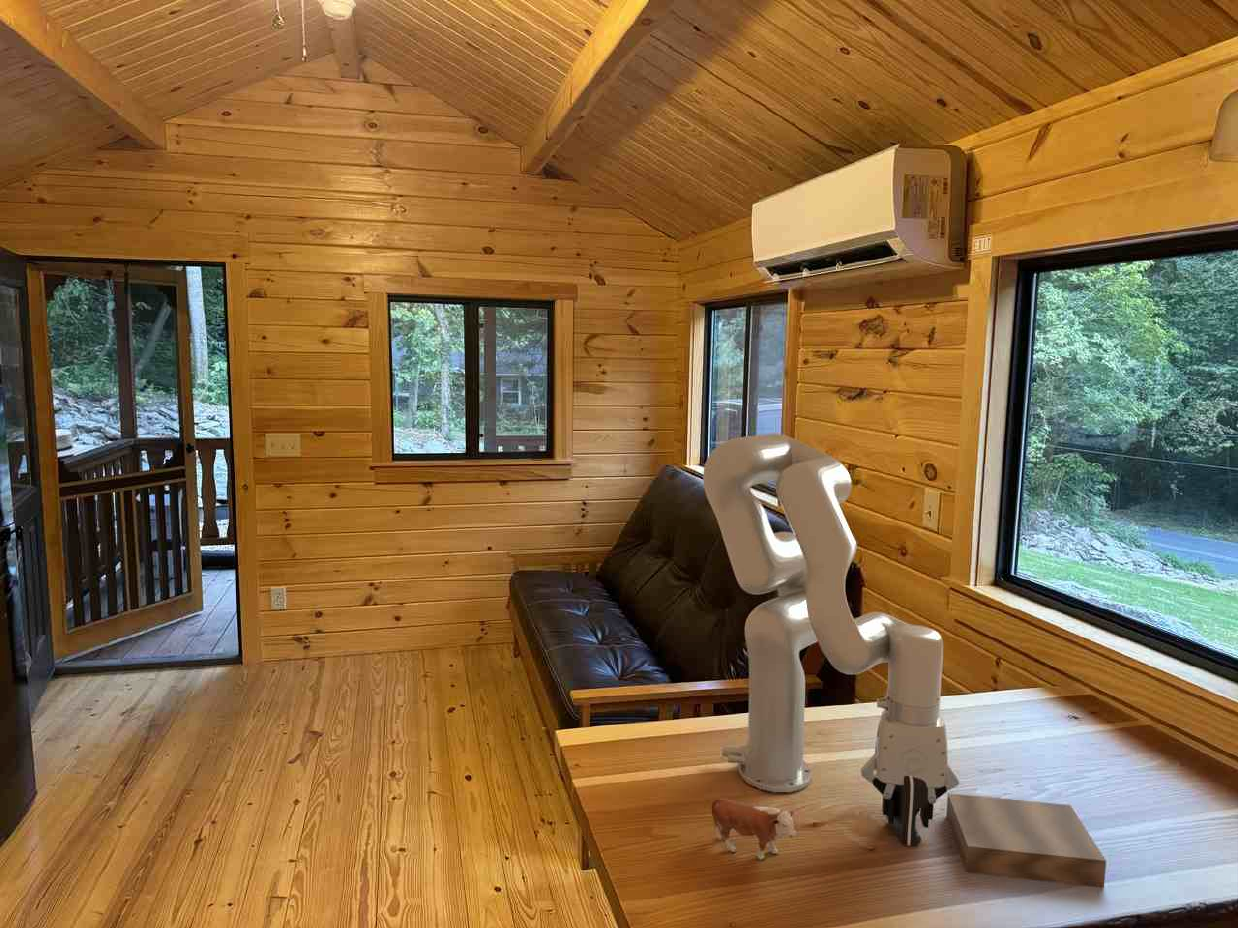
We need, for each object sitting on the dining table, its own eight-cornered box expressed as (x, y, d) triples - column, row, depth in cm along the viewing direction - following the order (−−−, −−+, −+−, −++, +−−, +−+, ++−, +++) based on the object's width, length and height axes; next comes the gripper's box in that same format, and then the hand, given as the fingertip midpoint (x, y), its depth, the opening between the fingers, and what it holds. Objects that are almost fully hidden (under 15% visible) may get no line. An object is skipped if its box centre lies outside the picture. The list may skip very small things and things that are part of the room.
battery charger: (928, 847, 121) (932, 776, 120) (903, 847, 121) (907, 776, 120) (910, 820, 128) (913, 752, 127) (886, 820, 128) (889, 753, 126)
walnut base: (966, 871, 116) (968, 845, 115) (946, 816, 129) (947, 793, 129) (1103, 887, 112) (1106, 860, 112) (1068, 828, 126) (1070, 804, 125)
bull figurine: (792, 875, 115) (793, 822, 114) (706, 845, 122) (707, 795, 121) (802, 859, 119) (804, 807, 117) (719, 830, 126) (719, 781, 125)
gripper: (857, 715, 120) (852, 828, 122) (978, 724, 117) (970, 841, 119) (852, 693, 127) (848, 801, 130) (966, 702, 124) (959, 812, 127)
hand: (906, 819), depth 124 cm, fingers closed on battery charger, 4 cm apart
